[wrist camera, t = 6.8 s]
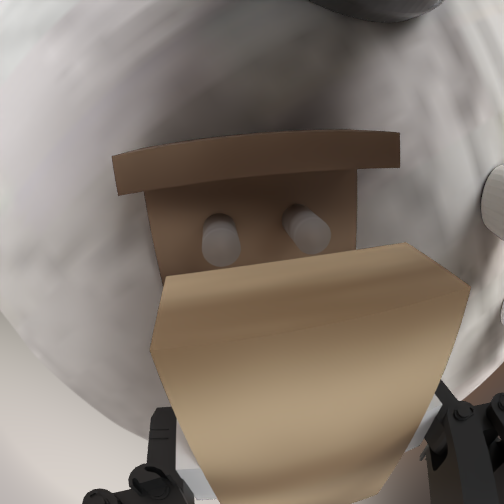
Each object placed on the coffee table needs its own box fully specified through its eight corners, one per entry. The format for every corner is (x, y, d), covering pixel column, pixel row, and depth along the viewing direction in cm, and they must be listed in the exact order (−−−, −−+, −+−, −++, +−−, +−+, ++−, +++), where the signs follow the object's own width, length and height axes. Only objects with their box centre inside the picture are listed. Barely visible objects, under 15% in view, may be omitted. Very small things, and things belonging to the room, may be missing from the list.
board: (166, 276, 8) (149, 350, 5) (406, 242, 8) (470, 286, 6) (228, 479, 12) (235, 527, 10) (358, 452, 13) (377, 494, 10)
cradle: (141, 148, 16) (111, 156, 10) (348, 129, 17) (399, 132, 12) (194, 387, 23) (195, 442, 17) (339, 363, 24) (364, 410, 19)
